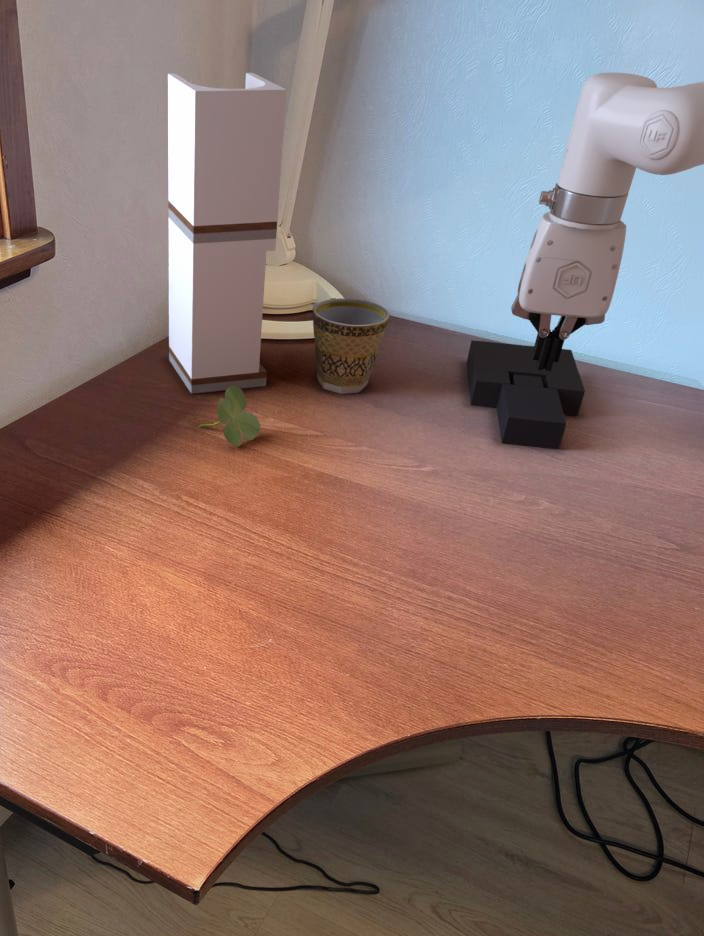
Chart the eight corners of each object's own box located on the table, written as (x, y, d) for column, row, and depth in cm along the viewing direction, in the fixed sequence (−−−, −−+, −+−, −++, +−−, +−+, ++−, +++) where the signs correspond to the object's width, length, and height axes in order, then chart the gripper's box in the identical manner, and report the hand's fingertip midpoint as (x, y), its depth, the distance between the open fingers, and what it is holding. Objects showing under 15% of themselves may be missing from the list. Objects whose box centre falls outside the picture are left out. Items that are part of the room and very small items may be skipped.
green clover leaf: (220, 466, 115) (259, 455, 111) (176, 443, 110) (214, 430, 105) (226, 415, 117) (264, 402, 112) (182, 389, 111) (220, 375, 107)
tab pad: (547, 402, 122) (554, 378, 119) (558, 449, 112) (566, 423, 109) (494, 397, 122) (500, 372, 120) (501, 442, 112) (508, 417, 110)
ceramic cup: (389, 396, 121) (400, 323, 115) (318, 401, 119) (326, 327, 113) (356, 358, 131) (365, 288, 125) (291, 362, 129) (297, 292, 123)
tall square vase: (265, 385, 123) (286, 89, 100) (191, 393, 120) (195, 91, 97) (239, 353, 131) (252, 72, 108) (169, 359, 128) (167, 73, 106)
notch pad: (564, 373, 129) (571, 349, 127) (577, 416, 119) (585, 391, 117) (466, 363, 131) (471, 340, 129) (470, 405, 120) (476, 380, 118)
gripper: (521, 209, 97) (482, 372, 108) (664, 222, 95) (609, 385, 107) (515, 191, 102) (479, 348, 114) (651, 203, 101) (600, 360, 113)
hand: (542, 365), depth 110 cm, fingers closed
